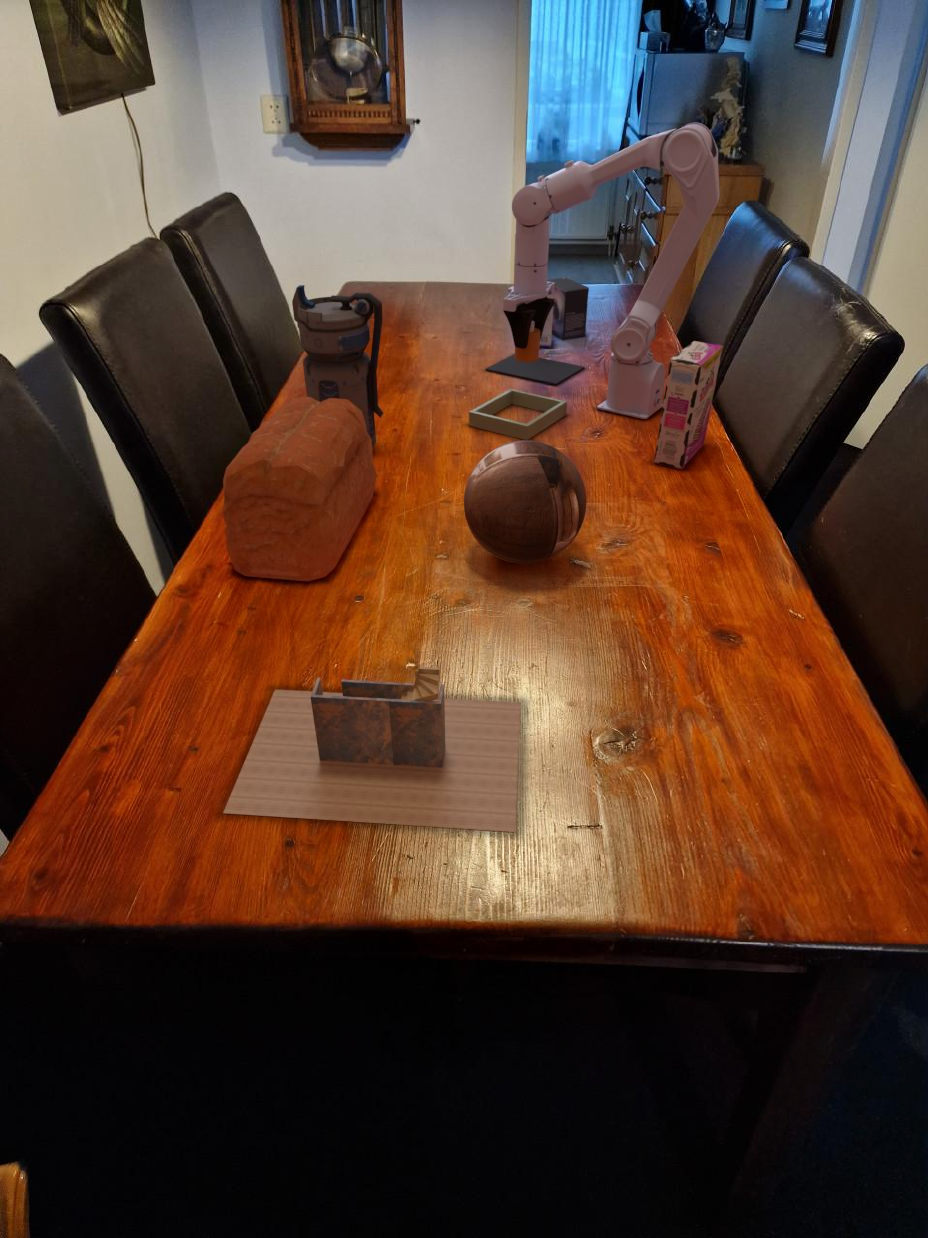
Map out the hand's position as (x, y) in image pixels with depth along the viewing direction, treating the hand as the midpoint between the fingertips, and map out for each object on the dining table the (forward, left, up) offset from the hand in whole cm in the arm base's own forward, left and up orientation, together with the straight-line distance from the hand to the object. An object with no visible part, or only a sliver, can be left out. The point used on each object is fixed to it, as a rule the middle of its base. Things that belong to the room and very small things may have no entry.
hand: (527, 343), depth 147 cm
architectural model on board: (-37, +88, -10) cm, 96 cm away
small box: (+14, -40, -10) cm, 43 cm away
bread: (-2, +60, -10) cm, 61 cm away
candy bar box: (-34, +10, -10) cm, 37 cm away
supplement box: (+14, -29, -10) cm, 33 cm away
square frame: (-5, +11, -9) cm, 16 cm away
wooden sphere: (-29, +50, -10) cm, 59 cm away
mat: (+6, -14, -9) cm, 17 cm away
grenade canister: (+11, +37, -10) cm, 40 cm away
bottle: (0, 0, -3) cm, 3 cm away
